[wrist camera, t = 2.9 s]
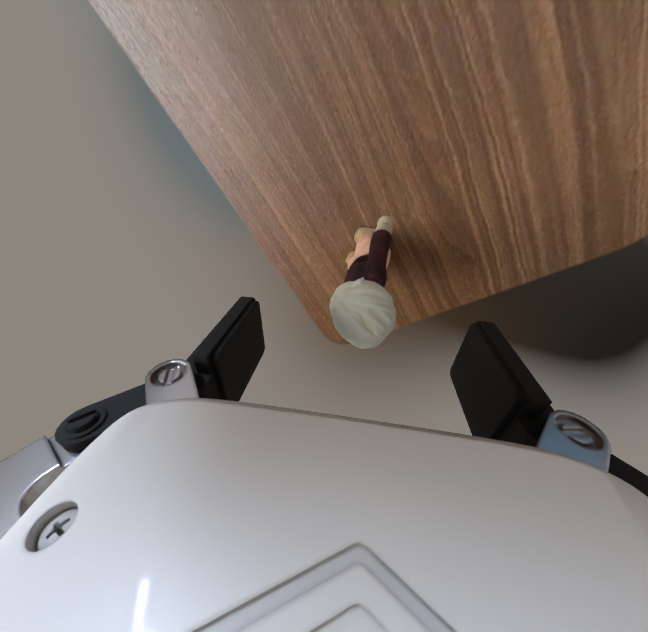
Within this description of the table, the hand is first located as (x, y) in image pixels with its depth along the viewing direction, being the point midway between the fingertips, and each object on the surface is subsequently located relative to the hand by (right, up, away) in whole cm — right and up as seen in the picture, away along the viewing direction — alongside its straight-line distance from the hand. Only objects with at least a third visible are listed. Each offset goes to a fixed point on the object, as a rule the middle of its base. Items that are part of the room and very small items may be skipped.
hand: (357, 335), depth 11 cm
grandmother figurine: (+2, +7, +11) cm, 13 cm away
